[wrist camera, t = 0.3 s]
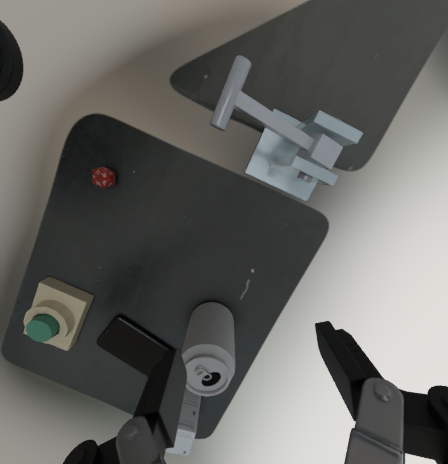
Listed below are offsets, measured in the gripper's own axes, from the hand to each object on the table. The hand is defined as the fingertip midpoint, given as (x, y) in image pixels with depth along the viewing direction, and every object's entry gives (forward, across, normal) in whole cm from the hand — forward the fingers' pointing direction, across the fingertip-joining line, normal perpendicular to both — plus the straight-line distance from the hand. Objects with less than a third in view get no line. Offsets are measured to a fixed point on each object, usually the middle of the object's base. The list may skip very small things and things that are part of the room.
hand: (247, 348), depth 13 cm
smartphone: (+23, +21, +18) cm, 36 cm away
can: (+23, +7, +14) cm, 28 cm away
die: (+24, +16, -13) cm, 32 cm away
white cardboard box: (+23, +17, +31) cm, 43 cm away
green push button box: (+23, +33, +7) cm, 41 cm away
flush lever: (+12, -6, -12) cm, 18 cm away
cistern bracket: (+23, -10, -10) cm, 27 cm away
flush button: (+20, +33, +7) cm, 39 cm away
